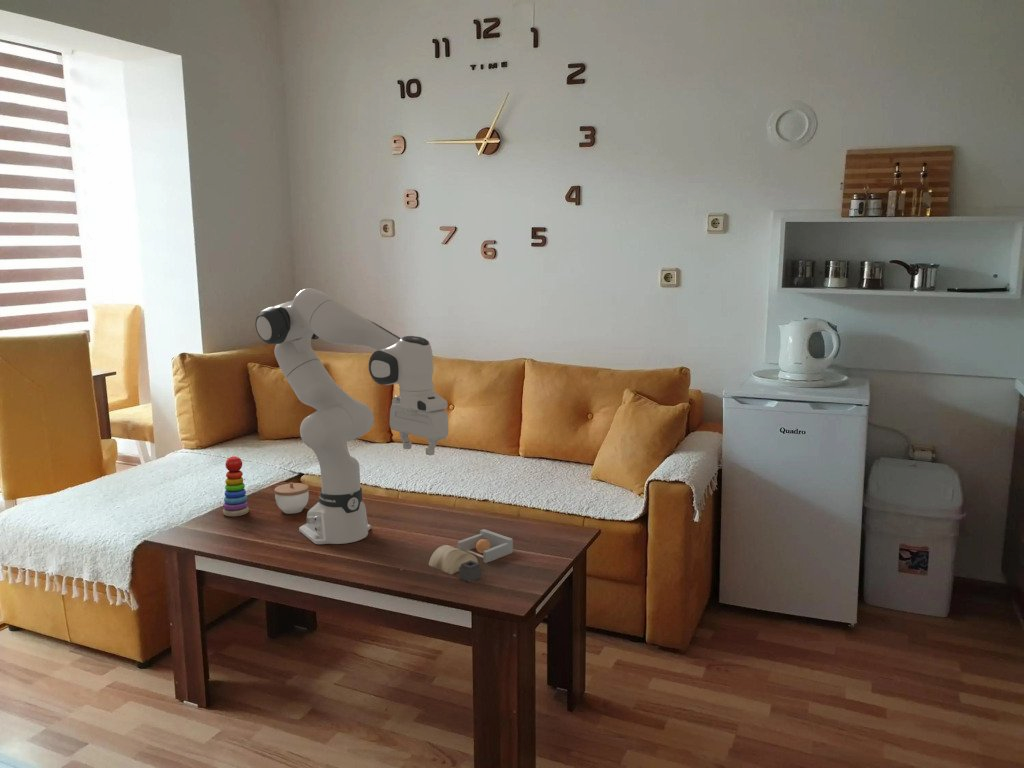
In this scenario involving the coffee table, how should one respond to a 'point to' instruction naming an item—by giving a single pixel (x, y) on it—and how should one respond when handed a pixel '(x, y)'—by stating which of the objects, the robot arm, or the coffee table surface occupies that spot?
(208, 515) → the coffee table surface
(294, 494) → the lidded jar
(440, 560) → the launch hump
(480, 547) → the ball
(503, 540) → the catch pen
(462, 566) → the cube with raised frame
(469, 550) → the line
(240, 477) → the stacking toy
